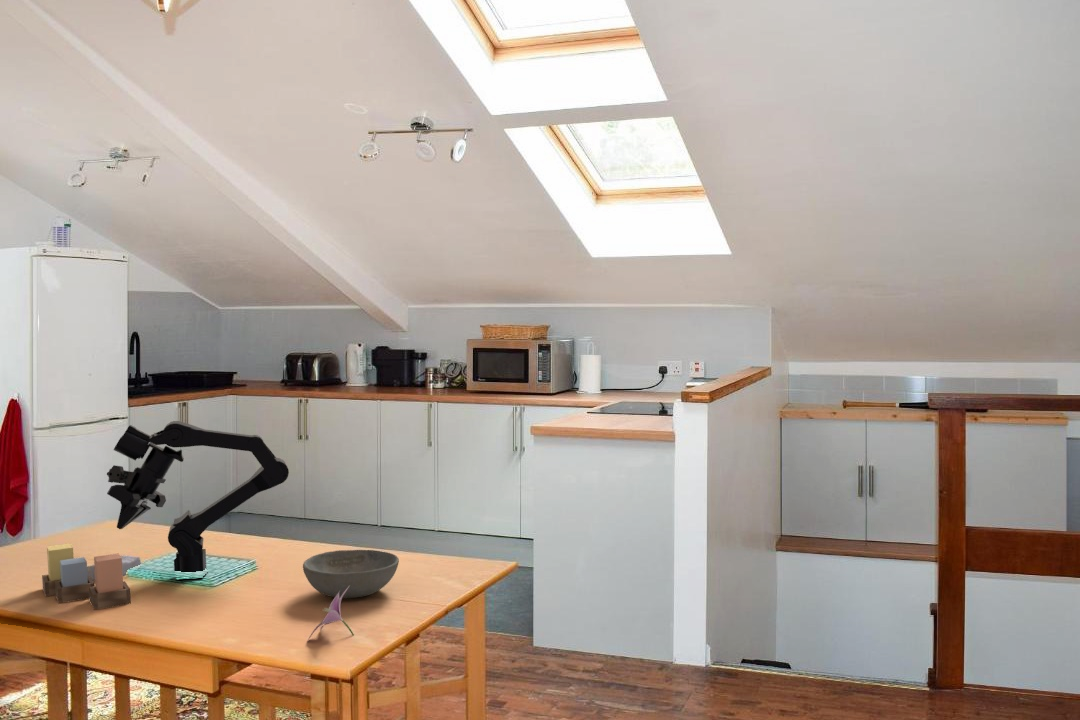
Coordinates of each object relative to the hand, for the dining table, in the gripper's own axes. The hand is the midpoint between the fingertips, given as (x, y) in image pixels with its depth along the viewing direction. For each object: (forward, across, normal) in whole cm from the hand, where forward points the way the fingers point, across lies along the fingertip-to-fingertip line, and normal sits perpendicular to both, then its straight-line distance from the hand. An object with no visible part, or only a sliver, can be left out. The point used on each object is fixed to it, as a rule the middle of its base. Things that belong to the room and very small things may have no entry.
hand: (119, 528), depth 220 cm
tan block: (+10, +11, +10) cm, 18 cm away
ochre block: (+16, +1, -5) cm, 17 cm away
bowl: (-14, +7, +58) cm, 60 cm away
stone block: (+14, -13, -1) cm, 19 cm away
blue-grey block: (+16, +5, +1) cm, 17 cm away
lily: (-10, +33, +62) cm, 71 cm away
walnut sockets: (+15, +5, +4) cm, 16 cm away
